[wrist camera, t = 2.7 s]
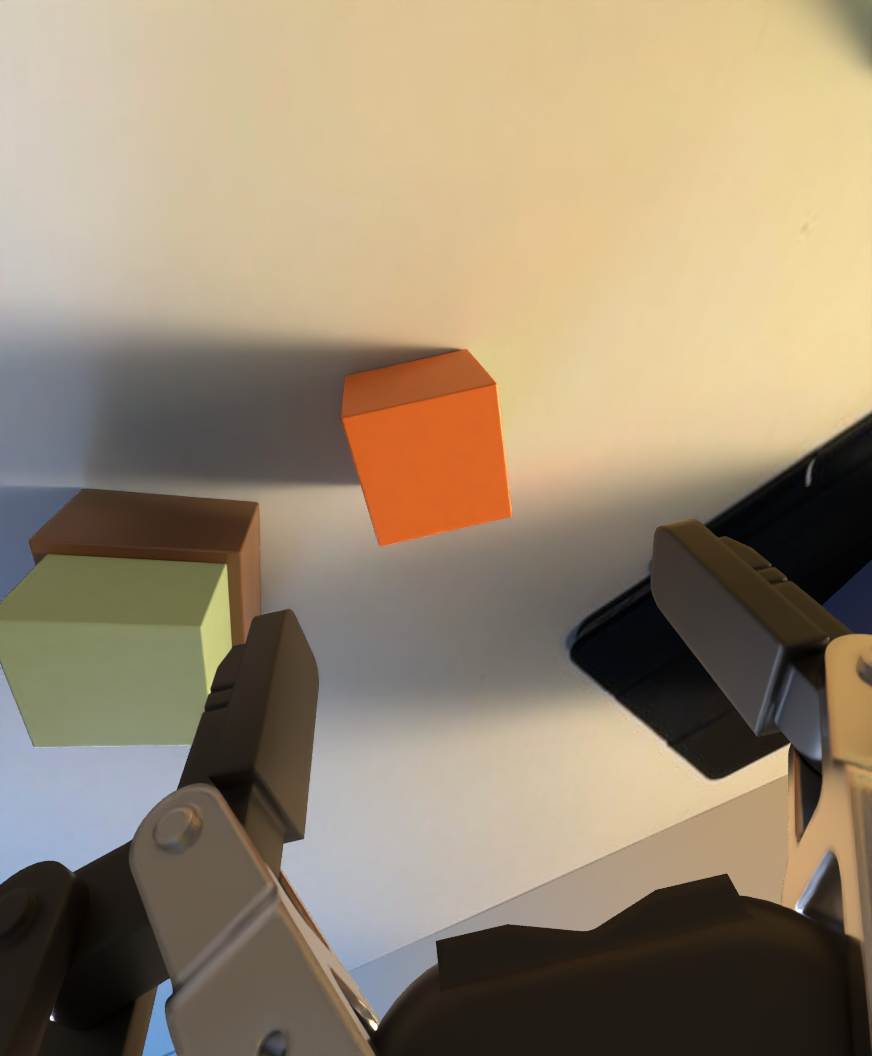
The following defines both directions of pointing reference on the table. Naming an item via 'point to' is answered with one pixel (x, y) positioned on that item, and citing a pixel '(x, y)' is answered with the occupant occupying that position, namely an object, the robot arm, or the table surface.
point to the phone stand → (854, 602)
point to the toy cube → (427, 446)
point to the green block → (114, 648)
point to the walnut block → (164, 538)
